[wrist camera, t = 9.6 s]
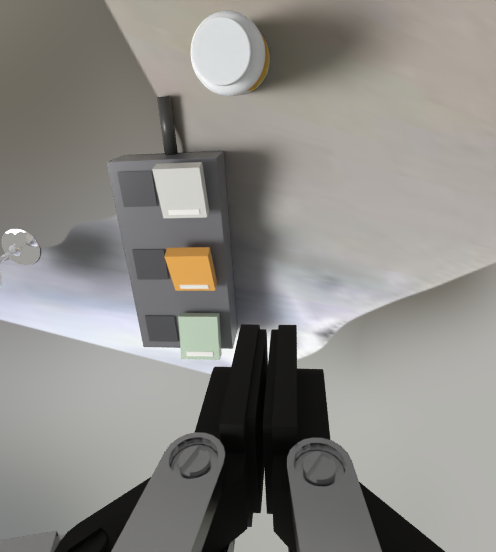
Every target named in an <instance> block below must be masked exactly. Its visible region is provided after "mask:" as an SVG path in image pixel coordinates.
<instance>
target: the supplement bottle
mask: <svg viewBox="0 0 496 552" xmlns="http://www.w3.org/2000/svg"><path fill="white" fill-rule="evenodd" d="M191 61H192V65H193V68H194V71H195V73H196V75H197V77H198V78H199V80H200V81H201V82H202V83H203V85H204V86H205V87H207V88H208V89H209V90H211V91H212V92H214V93H217V94H220V95H224V96H235V95H243V94H247V93H249V92H252V91H253V90H255V89H256V88H258V87H259V86H260V85H261V83H262V82H263V81H264V79H265V78H266V76H267V73H268V70H269V65H270V53H269V48H268V45H267V42H266V40H265V39H264V37H263V35H262V34H261V33H260V31H259V30H258V28H257V27H256V25H255V24H254V23H253V22H252V21H251V20H250V19H249V18H247V17H246V16H244V15H242V14H240V13H238V12H234V11H220V12H216V13H214V14H211V15H210V16H208V17H207V18H206V19H204V20H203V21H202V23H201V24H200V25H199V26H198V28H197V30H196V31H195V34H194V36H193V39H192V44H191Z"/></svg>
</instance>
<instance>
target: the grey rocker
mask: <svg viewBox="0 0 496 552" xmlns="http://www.w3.org/2000/svg"><path fill="white" fill-rule="evenodd" d="M152 171H153V175H154V180H155V184H156V188H157V193H158V197H159V201H160V206H161V210H162V214H163V218H205V217H207V216H208V214H209V205H208V198H207V192H206V185H205V178H204V172H203V165H202V162H191V163H165V164H156V165H155V166H154V167H153V169H152Z"/></svg>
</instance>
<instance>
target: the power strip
mask: <svg viewBox="0 0 496 552" xmlns="http://www.w3.org/2000/svg"><path fill="white" fill-rule="evenodd" d="M157 100H158V108H159V115H160V122H161V129H162V137H163V143H164V151H165V153H164V154H140V155H123V156H121V157H118V158H115V159H113V160H110V161H108V162H107V166H108V171H109V177H110V182H111V186H112V192H113V197H114V202H115V207H116V212H117V217H118V222H119V227H120V232H121V236H122V241H123V246H124V251H125V256H126V261H127V266H128V271H129V276H130V281H131V286H132V291H133V296H134V301H135V306H136V311H137V316H138V321H139V326H140V331H141V336H142V341H143V346H144V347H175V348H181V347H180V334H179V321H178V316H179V315H180V314H181V313H219V314H220V334H221V348H230V349H233V345H234V341H235V337H236V333H237V315H236V302H235V289H234V276H233V263H232V250H231V238H230V225H229V212H228V199H227V186H226V173H225V160H224V151H211V152H187V153H178V152H177V145H176V137H175V129H174V121H173V113H172V105H171V97H170V96H169V97H157ZM191 162H202V165H203V172H204V178H205V185H206V192H207V198H208V205H209V214H208V216H207V217H205V218H163V214H162V210H161V206H160V201H159V197H158V193H157V188H156V184H155V180H154V175H153V171H152V169H153V167H154V166H155V165H156V164H165V163H191ZM186 247H210V251H211V255H212V260H213V265H214V270H215V274H216V279H217V285H216V290H215V291H176V290H175V287H174V284H173V281H172V278H171V275H170V272H169V269H168V266H167V263H166V260H165V257H164V256H165V253H166V250H167V248H186Z"/></svg>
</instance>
